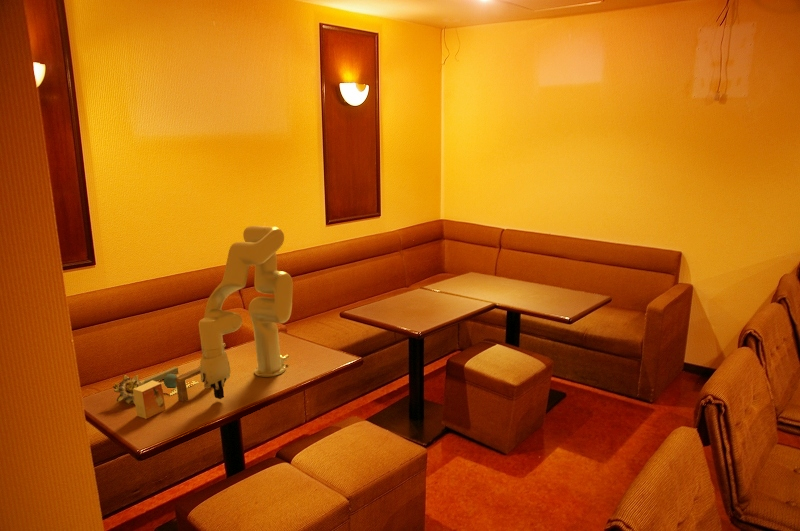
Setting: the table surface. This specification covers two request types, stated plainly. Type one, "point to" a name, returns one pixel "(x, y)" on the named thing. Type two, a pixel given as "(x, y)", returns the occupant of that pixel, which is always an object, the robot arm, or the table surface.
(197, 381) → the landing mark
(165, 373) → the grey square bar
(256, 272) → the robot arm
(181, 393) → the bridge
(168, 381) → the ball
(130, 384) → the passion flower
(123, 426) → the table surface
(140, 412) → the small box
